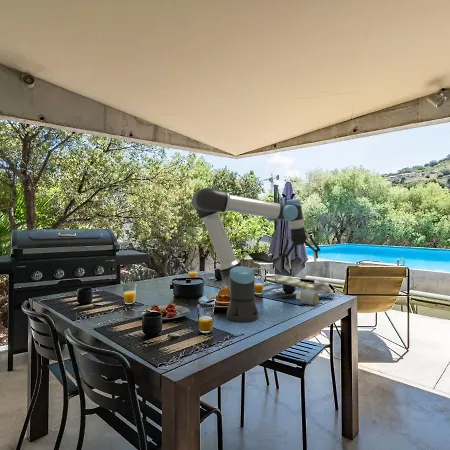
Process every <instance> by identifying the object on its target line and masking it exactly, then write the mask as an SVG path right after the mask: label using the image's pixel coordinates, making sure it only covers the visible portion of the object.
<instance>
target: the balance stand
mask: <svg viewBox="0 0 450 450" xmlns="http://www.w3.org/2000/svg"><path fill="white" fill-rule="evenodd" d="M304 289H305V286H301V288H300V292H297V293H296V296H295V300H298V299H299V300H300V296H301V292H302V290H304ZM305 290H307V289H305ZM300 301H301V300H300Z"/></svg>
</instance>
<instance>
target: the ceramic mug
mask: <svg viewBox="0 0 450 450" xmlns="http://www.w3.org/2000/svg"><path fill="white" fill-rule="evenodd" d="M300 293H301V296H300V303H301V304H304V305H310V306H316V305H318V303H319V299H320V296H319V295H320V294H319V293H318V291H314V290H309V289H306V290H305V289H304V290H302V292H301V291H300Z"/></svg>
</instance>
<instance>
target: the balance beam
mask: <svg viewBox="0 0 450 450" xmlns="http://www.w3.org/2000/svg"><path fill="white" fill-rule="evenodd" d="M313 280H314V281H313V285H312V284H308V283H304V282H303V283H302V282H301V279H300V278H294V277H290V276H285V275H280V274H277V276H276V277H275V279H274V282H275V283H278V284H282V285H287V286H292V287H297V288H300V289H301V286H305V289H306V290H309V291H314V292H317V293H318V292H319V293H324V294H328V295H334V290H333V289H331V288H330V284H329V282H326V281H322V280H316V279H313Z"/></svg>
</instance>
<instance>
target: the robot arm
mask: <svg viewBox="0 0 450 450" xmlns="http://www.w3.org/2000/svg"><path fill="white" fill-rule="evenodd" d="M191 198H192V199H191V204H192V208H194V210H195V211H196V214H197V216H198V219H199V220H200V221H203V224H204V226H205V229H206V231H207V234H208V236H209V239H210V241H211V245H212V246H213V248H214V251H215V254H216V256H217V259H218V261H219V264H220V265H219V267H218V269H219V271H220V272H219V273H220V276H221V280H222V283H223V284H224V286H226V287H227V288H228V289H229V304H228V307H227V311H226V319H227V320H228V321H232V322H237V323H249V322H250V323H251V322H254V321H257V320H258V319H259V311H258V308H257V304H256V302H255V300H256V299H255V293H256V292H255V290H256V289H255V279H256V278H255V277H256V276H255V271H254V269H253V268H252V267H249V266H248V267H247V266H243V264H242V262H241V259H238V258H237V257H236V255H235V252H234V249H233V247H232V244H231V242H230V239H229V237H228V233H227V232H226V228H225V227H224V223H223V222H222V219H221V216H220V214H221V213H225V212H234V213H238V214H247V215H252V216H258V217H263V218H266V219H267V221H268V222H275V221H287V222H289V228H290V235H291V237H289V238H288V237H286V238H285V244H284V248H283V251H282V254H281V255H282V257H285V260H286V263H287V264H288V265H289V269H290V270H292V261H291V256H290V254H291V253H292V251H293V249H294V248H295V247H296V246H303V245H306V246H307V247H308V248H310V249H311V250H312V251H313V252H312V254H313V256H312V257H313V261H314V265H315V266H317V265H318V262H317V261H318V260H317V259H319V255H318V254H319V253H318V252H320V251H321V248H320V247H319V245H318V244H317V243H316V241H315V240H314V237H313V235H312V234H309V235H307V234H306V229H305V227H304V226H305V223H304V222H305V221H304V217H303V209H302V203H301V199H299V198H293V199H287V200H286V202H285V204H284V203H278V202H273V201H266V200H261V199H255V198H249V197H245V196H239V195H233V194H229V192H228V191H225V190H224V191H223V190H221V189H216V188H213V187H203V188H201V189H199V190H197V191H195V193H194V194H193V196H192V197H191ZM307 239H308V240H310V242H311V243H312V244H313V245H314V247H313V246H312V245H311V244H310V243H308V242H307ZM291 242H292V243H291ZM290 243H291V245H290V247H289V244H290ZM288 247H289V249H288ZM315 248H316V249H315ZM287 249H288V250H287Z"/></svg>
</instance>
